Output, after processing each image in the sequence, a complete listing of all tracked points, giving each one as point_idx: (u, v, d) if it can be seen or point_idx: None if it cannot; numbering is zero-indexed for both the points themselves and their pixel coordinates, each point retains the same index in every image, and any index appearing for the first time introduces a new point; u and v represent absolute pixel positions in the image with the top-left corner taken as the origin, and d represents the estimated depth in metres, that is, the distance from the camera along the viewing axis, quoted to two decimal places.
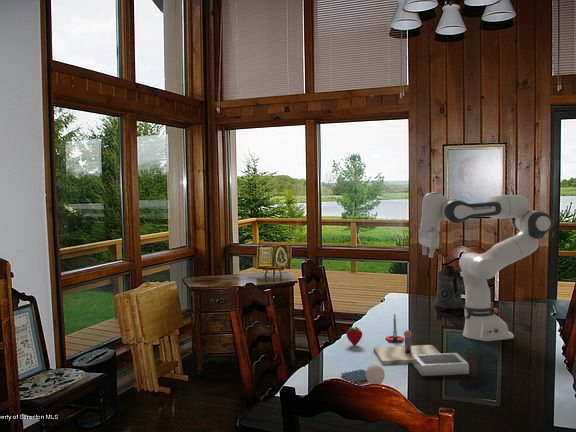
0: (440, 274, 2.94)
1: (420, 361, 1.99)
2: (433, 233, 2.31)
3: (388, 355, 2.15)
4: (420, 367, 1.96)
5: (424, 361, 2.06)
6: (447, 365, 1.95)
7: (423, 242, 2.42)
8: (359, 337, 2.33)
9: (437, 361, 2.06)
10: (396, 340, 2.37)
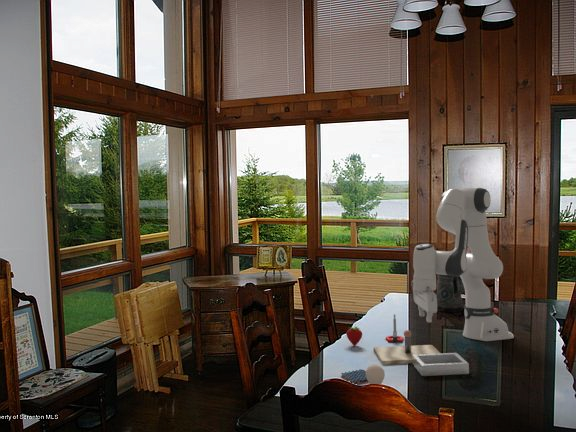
0: None
1: (420, 361, 1.99)
2: (429, 295, 1.96)
3: (388, 355, 2.15)
4: (420, 367, 1.96)
5: (424, 361, 2.06)
6: (447, 365, 1.95)
7: (419, 302, 2.08)
8: (359, 337, 2.33)
9: (437, 361, 2.06)
10: (396, 340, 2.37)
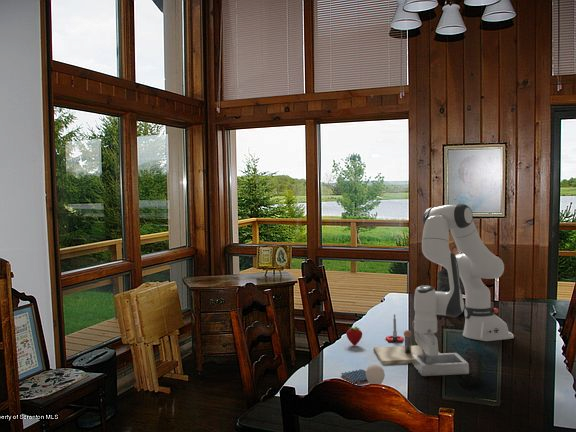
0: (440, 274, 2.94)
1: (420, 361, 1.99)
2: (430, 339, 1.97)
3: (388, 355, 2.15)
4: (420, 367, 1.96)
5: (424, 361, 2.06)
6: (447, 365, 1.95)
7: (420, 344, 2.09)
8: (359, 337, 2.33)
9: (437, 361, 2.06)
10: (396, 340, 2.37)
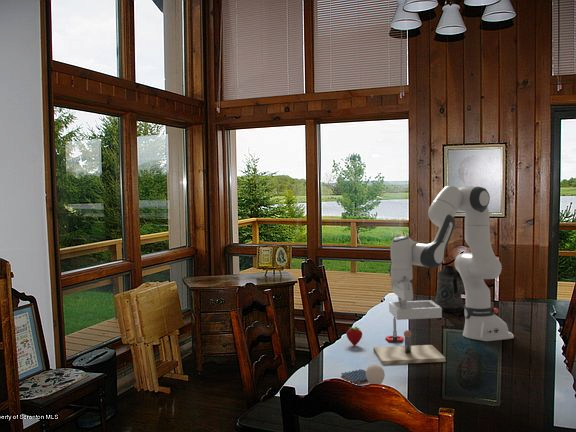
0: (440, 274, 2.94)
1: (396, 306, 2.08)
2: (405, 284, 2.07)
3: (388, 355, 2.15)
4: (395, 312, 2.05)
5: (400, 308, 2.15)
6: (421, 309, 2.04)
7: (396, 292, 2.18)
8: (359, 337, 2.33)
9: (412, 308, 2.16)
10: (396, 340, 2.37)
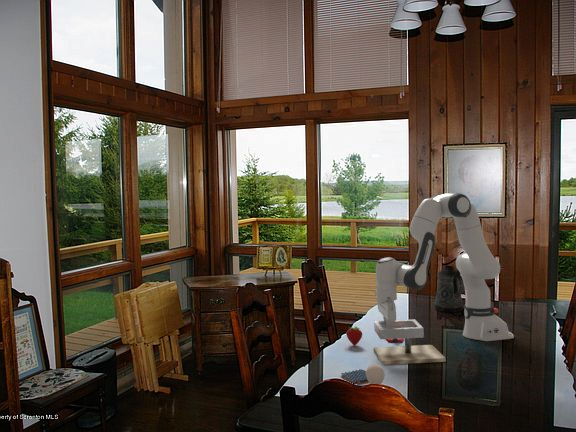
0: (440, 274, 2.94)
1: (380, 326, 2.17)
2: (389, 305, 2.15)
3: (388, 355, 2.15)
4: (379, 331, 2.14)
5: (385, 327, 2.24)
6: (404, 329, 2.12)
7: (381, 311, 2.26)
8: (359, 337, 2.33)
9: (397, 327, 2.24)
10: (396, 340, 2.37)
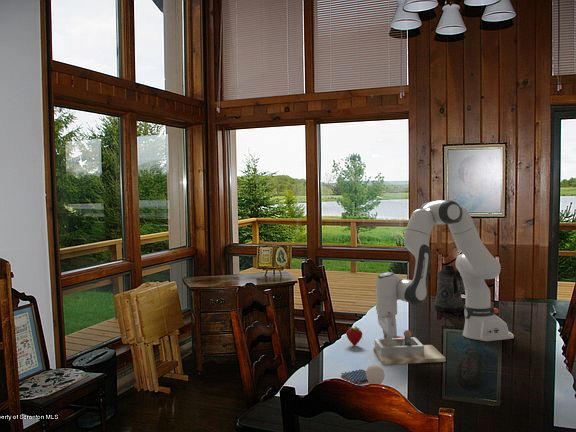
0: (440, 274, 2.94)
1: (380, 344, 2.17)
2: (389, 320, 2.15)
3: None
4: (380, 349, 2.15)
5: (385, 345, 2.24)
6: (404, 347, 2.13)
7: (382, 326, 2.27)
8: (359, 337, 2.33)
9: (397, 345, 2.24)
10: None
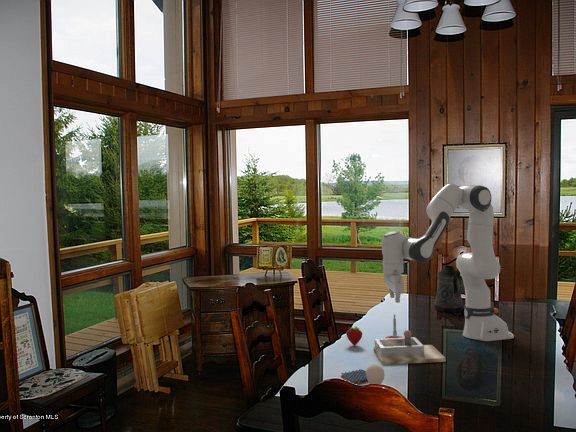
0: (440, 274, 2.94)
1: (380, 344, 2.17)
2: (396, 278, 2.16)
3: None
4: (380, 349, 2.15)
5: (385, 345, 2.24)
6: (404, 347, 2.13)
7: (388, 285, 2.27)
8: (359, 337, 2.33)
9: (397, 345, 2.24)
10: None
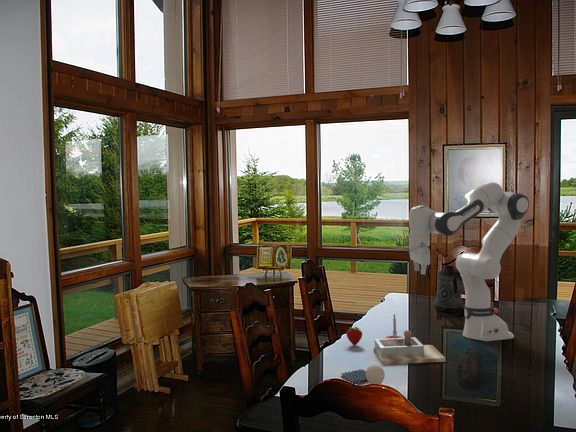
0: (440, 274, 2.94)
1: (380, 344, 2.17)
2: (423, 249, 2.21)
3: None
4: (380, 349, 2.15)
5: (385, 345, 2.24)
6: (404, 347, 2.13)
7: (414, 258, 2.33)
8: (359, 337, 2.33)
9: (397, 345, 2.24)
10: None
